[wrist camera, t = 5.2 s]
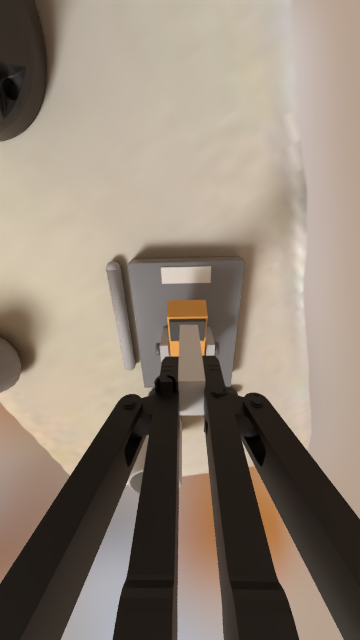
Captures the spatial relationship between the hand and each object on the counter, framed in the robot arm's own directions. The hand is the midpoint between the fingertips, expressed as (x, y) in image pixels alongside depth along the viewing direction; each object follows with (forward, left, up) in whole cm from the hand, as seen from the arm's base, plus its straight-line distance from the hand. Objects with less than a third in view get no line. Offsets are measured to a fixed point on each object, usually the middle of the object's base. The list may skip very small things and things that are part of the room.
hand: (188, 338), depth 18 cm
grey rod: (+5, -10, -13) cm, 17 cm away
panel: (+6, 0, -13) cm, 14 cm away
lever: (+5, 0, -8) cm, 10 cm away
